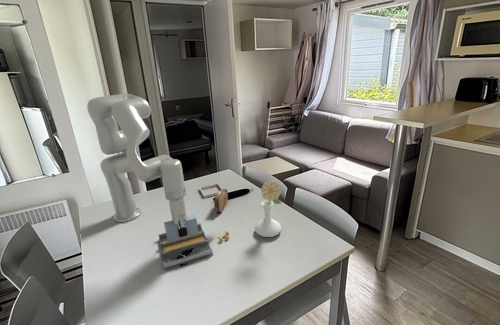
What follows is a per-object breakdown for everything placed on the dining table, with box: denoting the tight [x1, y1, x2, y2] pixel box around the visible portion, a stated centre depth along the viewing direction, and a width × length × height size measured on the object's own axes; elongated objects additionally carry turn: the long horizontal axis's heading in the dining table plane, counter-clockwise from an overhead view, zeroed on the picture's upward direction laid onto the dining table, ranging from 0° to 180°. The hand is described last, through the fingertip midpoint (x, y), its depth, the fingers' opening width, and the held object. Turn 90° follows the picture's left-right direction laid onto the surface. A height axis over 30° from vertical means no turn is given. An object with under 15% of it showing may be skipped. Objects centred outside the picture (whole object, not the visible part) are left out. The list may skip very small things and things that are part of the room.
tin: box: [213, 188, 229, 213], centre depth 134 cm, size 15×3×8 cm, turn 168°
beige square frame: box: [198, 182, 224, 199], centre depth 153 cm, size 12×12×2 cm
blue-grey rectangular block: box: [163, 214, 199, 242], centre depth 104 cm, size 3×12×7 cm, turn 113°
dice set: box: [217, 230, 230, 243], centre depth 112 cm, size 5×5×2 cm
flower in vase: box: [254, 179, 282, 238], centre depth 109 cm, size 13×11×25 cm
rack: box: [158, 222, 214, 271], centre depth 107 cm, size 20×18×2 cm
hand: (182, 233), depth 105 cm, fingers closed on blue-grey rectangular block, 3 cm apart
